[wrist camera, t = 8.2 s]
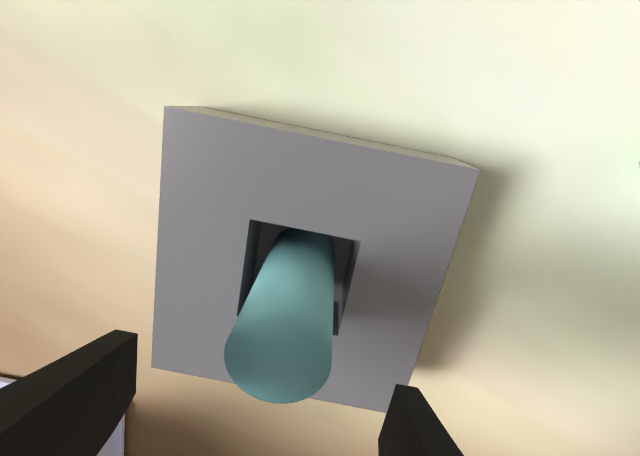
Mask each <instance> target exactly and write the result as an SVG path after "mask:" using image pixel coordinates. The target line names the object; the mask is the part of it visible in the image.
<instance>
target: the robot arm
mask: <svg viewBox="0 0 640 456" xmlns="http://www.w3.org/2000/svg"><path fill="white" fill-rule="evenodd" d="M137 339H138V334H136V333H131V332H126V331H121V330H114V331H112V332H110V333H108V334H106V335H104V336H102V337H100V338H98V339H96V340H94V341H92V342H90V343H88V344H87V345H85V346H83V347H81V348H79V349H77V350H75V351H73V352H71V353H70V354H68V355H66V356H64V357H62V358H60V359H58V360H56V361H54V362H52V363H50V364H48V365H47V366H45V367H43V368H41V369H39V370H37V371H35V372H33V373H31V374H29V375H27V376H25V377H23V378H21V379H19V380H14V379H9V378H4V377H0V456H124V430H125V412H126V410H127V408H128V406H129V404H130V403H131V401H132V399H133V397H134V395H135V393H136V369H137ZM378 448H379V456H464V455H463V454H462V452H461V451H460V450H459V448H458V447H457V445H456V444H455V442H454V441H453V440H452V438H451V437H450V435H449V434H448V432H447V431H446V429H445V428H444V426H443V425H442V423H441V422H440V420H439V419H438V417H437V416H436V414H435V413H434V411H433V410H432V408H431V407H430V405H429V404H428V402H427V401H426V399H425V398H424V396H423V395H422V393H421V392H420V390H419V389H418V388H416V387H411V386H406V385H401V384H396V385H395V389H394V392H393V395H392V398H391V401H390V404H389V407H388V410H387V414H386V417H385V420H384V423H383V426H382V429H381V432H380V436H379V439H378Z"/></svg>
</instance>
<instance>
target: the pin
mask: <svg viewBox="0 0 640 456" xmlns="http://www.w3.org/2000/svg"><path fill="white" fill-rule="evenodd" d="M334 268H335V251H334V247H333V244H332V242H331V240H330V239H329V237H328V236H327V235H326V234H322V233H317V232H312V231H307V230H302V229H297V228H292V227H289V228H287V229H285V230H284V231H282V232H281V233H280V234H279V235H278V236H277V238H276V239H275V241H274V243H273V245H272V247H271V249H270V251H269V253H268V256H267V258H266V260H265V262H264V264H263V266H262V268H261V270H260V272H259V274H258V276H257V278H256V281H255V283H254V285H253V287H252V289H251V291H250V293H249V295H248V297H247V299H246V301H245V304H244V306H243V308H242V310H241V312H240V314H239V316H238V318H237V320H236V322H235V324H234V326H233V329H232V331H231V333H230V335H229V337H228V339H227V341H226V344H225V348H224V361H225V366H226V369H227V371H228V373H229V375H230V377H231V378H232V380H233V381H234V382H235V383H236V385H237V386H238V387H240V388H241V389H242V390H243V391H244V392H246V393H247V394H249V395H251V396H253V397H255V398H257V399H259V400H263V401H266V402H271V403H280V404H281V403H293V402H298V401H301V400H304V399H306V398H308V397H310V396H312V395H313V394H315V393H316V392H317V391H318V390H320V389H321V388H322V386H323V385H324V384H325V382H326V381H327V379H328V377H329V375H330V371H331V366H332V339H333V303H334Z"/></svg>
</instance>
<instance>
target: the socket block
mask: <svg viewBox="0 0 640 456" xmlns="http://www.w3.org/2000/svg"><path fill="white" fill-rule="evenodd" d="M479 173H480V169H477V168H475V167H473V166H471V165H468V164H466V163H464V162H461V161H459V160H457V159H455V158H452V157H447V156H442V155H437V154H432V153H427V152H422V151H417V150H412V149H407V148H402V147H397V146H393V145H388V144H383V143H378V142H373V141H368V140H363V139H358V138H353V137H348V136H343V135H338V134H333V133H328V132H323V131H318V130H313V129H308V128H303V127H299V126H294V125H289V124H284V123H279V122H274V121H269V120H264V119H259V118H254V117H249V116H244V115H239V114H234V113H229V112H224V111H219V110H214V109H210V108H205V107H200V106H164V122H163V142H162V162H161V182H160V202H159V221H158V241H157V261H156V281H155V301H154V321H153V341H152V361H151V367H152V368H157V369H162V370H167V371H173V372H178V373H183V374H188V375H193V376H198V377H203V378H209V379H214V380H219V381H224V382H229V383H234V384H236V383H235V382H234V381H233V380H232V378H231V377H230V375H229V373H228V371H227V369H226V366H225V361H224V348H225V344H226V341H227V339H228V337H229V335H230V333H231V331H232V329H233V326H234V324H235V322H236V320H237V318H238V316H239V314H240V312H241V310H242V308H243V306H244V304H245V301H246V299H247V297H248V295H249V293H250V291H251V289H252V287H253V285H254V283H255V281H256V278H257V276H258V274H259V272H260V270H261V268H262V266H263V264H264V262H265V260H266V258H267V256H268V253H269V251H270V249H271V247H272V245H273V243H274V241H275V239H276V238H277V236H278V235H279V234H280V233H281V232H282V231H284V230H285V229H287V228H289V227H292V228H297V229H302V230H307V231H312V232H317V233H322V234H326V235H327V236H328V237H329V239H330V240H331V242H332V244H333V247H334V251H335V268H334V303H333V339H332V366H331V371H330V375H329V377H328V379H327V381H326V382H325V384H324V385H323V386H322V388H321V389H320V390H318V391H317V392H316V393H315V394H313V395H312V396H310V397H308V398H311V399H317V400H322V401H327V402H332V403H337V404H342V405H347V406H353V407H358V408H363V409H368V410H373V411H378V412H383V413H387V410H388V407H389V404H390V401H391V398H392V395H393V392H394V389H395V385H396V384H401V385H406V386H408V384H409V381H410V378H411V375H412V372H413V369H414V366H415V363H416V360H417V357H418V354H419V351H420V348H421V345H422V342H423V339H424V336H425V333H426V330H427V327H428V324H429V321H430V318H431V315H432V312H433V309H434V307H435V304H436V301H437V298H438V295H439V292H440V289H441V286H442V283H443V280H444V277H445V274H446V271H447V268H448V265H449V262H450V259H451V256H452V253H453V250H454V247H455V244H456V241H457V238H458V235H459V232H460V229H461V226H462V223H463V220H464V217H465V214H466V211H467V208H468V205H469V202H470V199H471V196H472V193H473V190H474V187H475V184H476V181H477V178H478V176H479Z"/></svg>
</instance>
